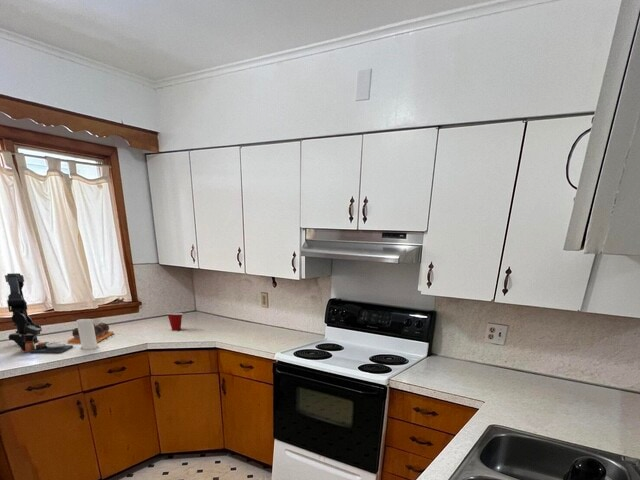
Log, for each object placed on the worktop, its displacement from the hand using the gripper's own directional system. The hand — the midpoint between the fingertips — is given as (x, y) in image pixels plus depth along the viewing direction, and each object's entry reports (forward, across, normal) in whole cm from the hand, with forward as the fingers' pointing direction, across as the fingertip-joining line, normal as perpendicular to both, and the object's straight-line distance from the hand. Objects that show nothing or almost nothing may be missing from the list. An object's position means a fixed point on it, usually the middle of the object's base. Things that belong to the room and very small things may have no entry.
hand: (28, 349), depth 238 cm
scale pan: (-2, +3, -12) cm, 13 cm away
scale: (+1, +2, -12) cm, 12 cm away
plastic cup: (+1, +65, -65) cm, 92 cm away
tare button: (-2, +2, -7) cm, 7 cm away
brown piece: (+1, +34, -20) cm, 40 cm away
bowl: (+1, 0, 0) cm, 1 cm away
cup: (+1, +10, -29) cm, 31 cm away
